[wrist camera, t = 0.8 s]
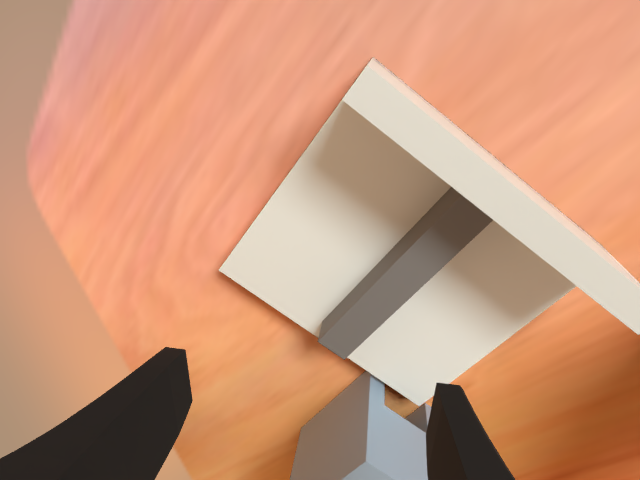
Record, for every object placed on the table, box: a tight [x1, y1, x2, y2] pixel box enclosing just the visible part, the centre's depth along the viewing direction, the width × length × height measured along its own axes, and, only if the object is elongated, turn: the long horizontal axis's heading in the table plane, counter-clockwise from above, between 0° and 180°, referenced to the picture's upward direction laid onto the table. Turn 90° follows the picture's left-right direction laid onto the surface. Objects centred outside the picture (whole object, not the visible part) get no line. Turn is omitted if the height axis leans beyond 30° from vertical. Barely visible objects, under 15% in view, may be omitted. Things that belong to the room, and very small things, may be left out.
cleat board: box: [219, 57, 640, 406], centre depth 18 cm, size 13×12×5 cm
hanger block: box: [290, 371, 431, 480], centre depth 23 cm, size 5×7×6 cm
